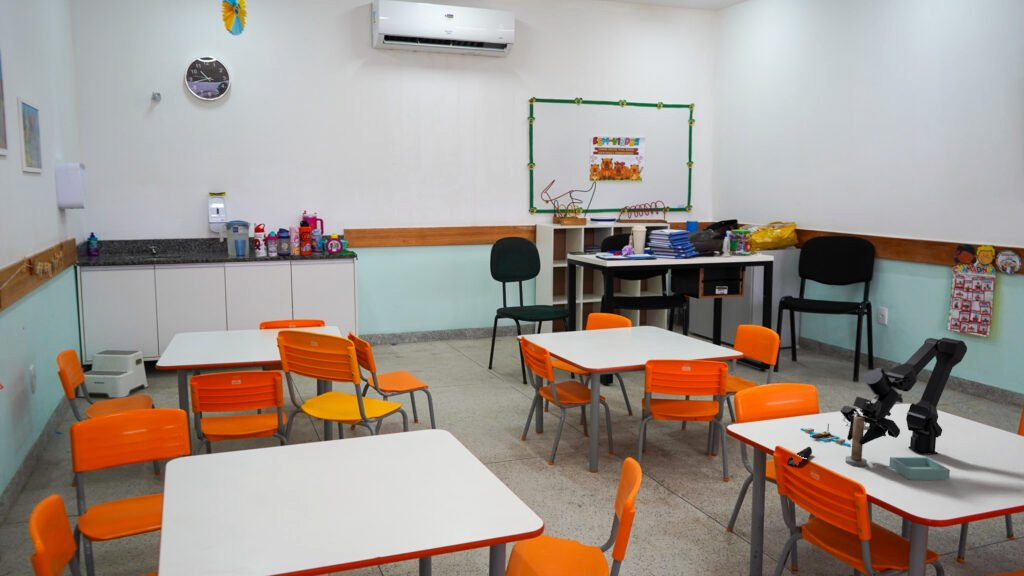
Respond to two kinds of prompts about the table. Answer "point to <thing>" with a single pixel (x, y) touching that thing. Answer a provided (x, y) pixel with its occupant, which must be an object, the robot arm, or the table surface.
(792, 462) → the electric trimmer
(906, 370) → the robot arm
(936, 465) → the tray
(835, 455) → the table surface
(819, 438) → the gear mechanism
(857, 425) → the rod
